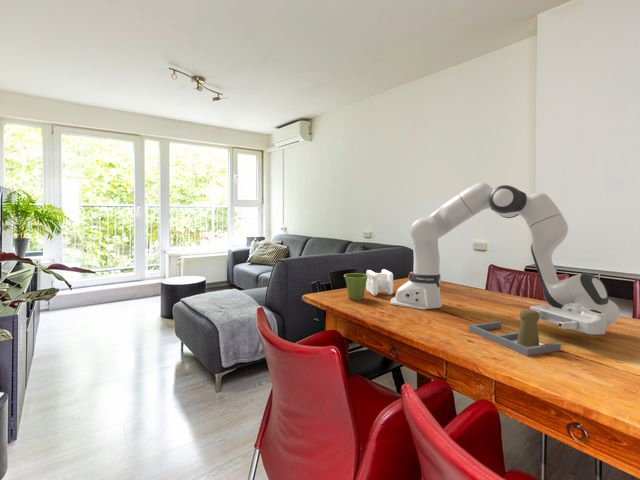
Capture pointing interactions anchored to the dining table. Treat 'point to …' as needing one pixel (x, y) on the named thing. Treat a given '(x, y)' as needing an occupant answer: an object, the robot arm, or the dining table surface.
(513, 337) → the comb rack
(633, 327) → the dining table surface
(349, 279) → the plant pot
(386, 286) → the cable organizer
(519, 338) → the cork
